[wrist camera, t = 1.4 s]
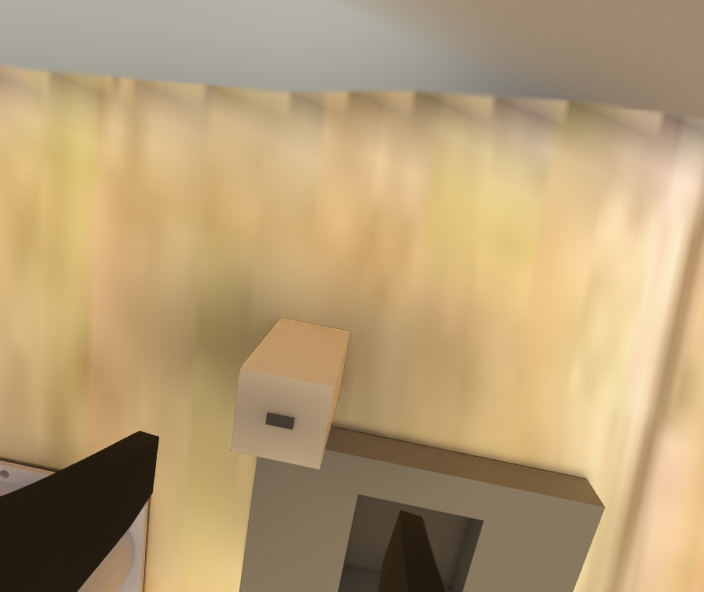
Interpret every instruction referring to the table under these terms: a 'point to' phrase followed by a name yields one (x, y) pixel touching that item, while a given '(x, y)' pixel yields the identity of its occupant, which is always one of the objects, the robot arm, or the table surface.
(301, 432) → the block
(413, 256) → the table surface
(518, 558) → the outlet plate
